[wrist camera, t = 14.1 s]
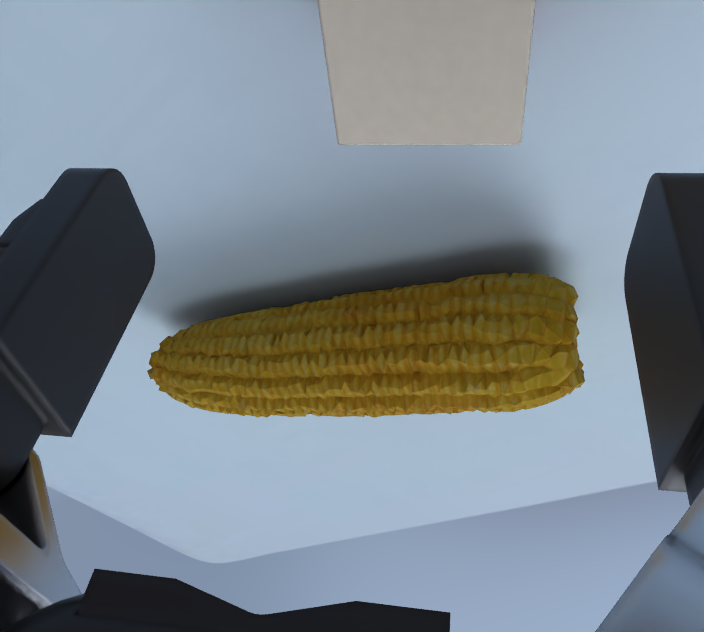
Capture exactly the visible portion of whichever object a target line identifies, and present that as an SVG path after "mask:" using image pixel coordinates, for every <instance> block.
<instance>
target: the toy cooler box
mask: <svg viewBox="0 0 704 632" xmlns="http://www.w3.org/2000/svg"><path fill="white" fill-rule="evenodd" d="M318 7H319V15H320V22H321V29H322V36H323V43H324V50H325V57H326V64H327V71H328V78H329V85H330V92H331V99H332V107H333V114H334V121H335V128H336V135H337V142H338V144H340V145H519V144H520V143H521V139H522V129H523V119H524V109H525V99H526V89H527V79H528V70H529V60H530V50H531V40H532V30H533V20H534V10H535V0H318Z"/></svg>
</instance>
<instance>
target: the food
mask: <svg viewBox="0 0 704 632" xmlns="http://www.w3.org/2000/svg"><path fill="white" fill-rule="evenodd" d="M577 298H578V295H577V292H576V290H575V288H574V287H573V286H571V285H569V284H566V283H564V282H563V281H561V280H559V279H557V278H555V277H549V276H548V275H542V274H527V273H514V272H513V274H512V275H509V274H507V273H505V272H504V273H500V274H486V275H474V276H469V277H463V278H458V279H456V280H455V281H451V282H438V283H428V284H423V285H412V286H405V287H403V288H400V287H395V288H393V289H387V290H375V291H371V292H358V293H353V294H344V295H342V296H340V297H338V296H334V297H333V299H331V300H324V299H322V300H319V301H313V302H312V303H309V302H307V301H305V302H303V303H301V304H294V305H293V306H289V307H282V308H278V307H270V308H269V309H261V310H259V311H258V310H257V311H254V312H246V313H240V314H235V315H233V316H230V317H228V316H226V317H222V318H218V319H213V320H209V321H205V322H201V323H198V324H194V325H192V326H191V327H190V328H187V329H185V330H180V331H179V332H178V333H177V334H175V335H174V336H173V337H171V336H168V337H167V338H165V339H164V340H163V341H162V342H161V343H160V344H159V345H160V349H159V350H158V351H155V352H153V353H151V358H150V361H149V364H150V365H151V366H152V367H153V368H152V369H150V370H148V371H147V372H148V374H149V376H150V379H154V380H155V382H156V384H157V385H159V386H160V388H159V390H160V391H163V392H166V393H167V394H168V395H170V396H171V397H172V398H174V399H175V400H178V401H180V402H182V403H185V404H187V405H188V406H190V407H192V408H195V407H196V408H199V409H203V410H208V411H213V412H220V413H227V414H229V413H230V414H239V415H242V416H245V415H251V416H256V417H260V416H264V417H268V416H270V415H280V416H288V417H294V416H306V415H307V414H313V415H316V416H336V417H343V416H362V417H364V416H365V415H367V416H371V417H378V416H383V415H404V414H406V415H409V414H414V413H415V414H435V413H448V414H451V413H459V412H463V411H475V410H479V411H482V412H484V413H485V412H487V411H491V412H495V413H497V412H501V411H503V412H515V411H518V410H521V409H530V408H534V407H538V406H541V405H544V404H547V403H550V402H552V401H555V400H557V399H559V398H561V397H563V396H565V395H566V394H567V393H569V394H570V393H571V392H572V391H573V390H574V389H575V388H578V387H580V386H581V385H582V384H583V383H584V381H585V380H584V371H583V370H582V369H581V368H582V367H583V364H582V362H581V361H580V360H579V354H578V351H577V340H576V337H577V336H578V334H579V330H578V328H577V325H576V323H577V320H578V318H577V315H576V312H575V309H574V304H575V302H576V300H577Z"/></svg>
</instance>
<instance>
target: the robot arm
mask: <svg viewBox="0 0 704 632" xmlns="http://www.w3.org/2000/svg"><path fill="white" fill-rule="evenodd" d="M154 266H155V250H154V245H153V241H152V239H151V236H150V234H149V232H148V229H147V227H146V225H145V222H144V220H143V218H142V216H141V213H140V211H139V209H138V206H137V204H136V202H135V199H134V197H133V195H132V192H131V190H130V188H129V186H128V183H127V181H126V179H125V177H124V176H123V174H122V173H121V172H120V171H118V170H117V169H111V168H70V169H67V170H66V171H64V172H63V173H62V174H61V176H60V177H59V178H58V180H57V181H56V182H55V184H54V185H53V186H52V188H51V189H50V191H49V192H48V193H47V195H46V196H45V197H44V199H40V200H39V201H38V202H36V203H35V204H34V205H32V206H31V207H30V208H28V209H27V210H26V211H24V212H23V213H22V214H20V215H19V216H18V217H16V218H15V219H14V220H13V221H12V222H11V224H10V225H9V226H8V228H7V229H6V230H5V232H4V233H3V234H2V235H1V237H0V632H450V613H449V612H441V611H432V610H424V609H415V608H408V607H400V606H392V605H384V604H376V603H367V602H360V601H354V602H347V603H340V604H333V605H327V606H321V607H314V608H307V609H301V610H293V611H287V612H280V613H273V614H265V615H259V614H253V613H250V612H247V611H246V610H243V609H241V608H239V607H237V606H234V605H232V604H230V603H228V602H226V601H224V600H221V599H219V598H217V597H215V596H212V595H210V594H208V593H206V592H204V591H201V590H199V589H197V588H195V587H193V586H191V585H188V584H186V583H184V582H182V581H180V580H177V579H173V578H166V577H157V576H149V575H141V574H133V573H125V572H116V571H109V570H101V569H94V572H93V574H92V577H91V579H90V581H89V584H88V587H87V589H86V591H85V594H82V593H81V591H80V589H79V587H78V585H77V583H76V582H75V580H74V578H73V577H72V575H71V574H70V572H69V570H68V568H67V566H66V564H65V562H64V559H63V556H62V553H61V549H60V544H59V540H58V536H57V531H56V527H55V522H54V518H53V514H52V509H51V505H50V501H49V496H48V492H47V488H46V483H45V479H44V475H43V470H42V466H41V462H40V459H39V456H38V455H37V454H36V452H35V451H34V450H33V447H34V445H35V443H36V441H37V439H38V438H39V436H40V434H42V435H54V436H65V437H72V435H73V433H74V431H75V429H76V427H77V425H78V423H79V421H80V419H81V417H82V415H83V413H84V411H85V409H86V407H87V405H88V403H89V401H90V399H91V397H92V395H93V393H94V391H95V389H96V387H97V385H98V383H99V381H100V379H101V377H102V375H103V373H104V371H105V369H106V367H107V365H108V363H109V361H110V359H111V357H112V355H113V353H114V351H115V349H116V347H117V345H118V343H119V341H120V339H121V337H122V335H123V333H124V331H125V329H126V327H127V325H128V323H129V321H130V319H131V317H132V315H133V313H134V311H135V309H136V307H137V305H138V303H139V301H140V299H141V297H142V295H143V293H144V291H145V289H146V287H147V285H148V283H149V281H150V279H151V277H152V275H153V271H154ZM624 290H625V299H626V305H627V310H628V316H629V322H630V328H631V334H632V339H633V345H634V351H635V357H636V362H637V368H638V374H639V380H640V386H641V391H642V397H643V403H644V409H645V414H646V420H647V426H648V432H649V438H650V443H651V449H652V455H653V461H654V467H655V472H656V478H657V483H658V489H659V490H667V491H678V492H687V494H688V499H689V504H690V507H689V509H688V510H687V511H686V513H685V514H684V515H683V517H682V518H681V520H680V521H679V522H678V524H677V525H676V526H675V528H674V529H673V530H672V532H671V533H670V534H669V535H667V536H666V537H665V538H664V539H663V541H662V542H661V543H660V544H659V546H658V547H657V548H656V550H655V551H654V552H653V554H652V555H651V556H650V558H649V559H648V560H647V562H646V563H645V565H644V566H643V567H642V569H641V570H640V571H639V573H638V574H637V576H636V577H635V578H634V579H633V581H632V582H631V584H630V585H629V586H628V588H627V589H626V590H625V592H624V593H623V594H622V596H621V597H620V599H619V600H618V601H617V603H616V604H615V605H614V607H613V608H612V609H611V611H610V612H609V614H608V615H607V616H606V618H605V619H604V621H603V622H602V623H601V625H600V626H599V628H598V629H597V630H596V631H595V632H704V173H655V174H653V175H652V176H651V178H650V180H649V183H648V185H647V188H646V192H645V195H644V199H643V202H642V206H641V209H640V213H639V216H638V220H637V223H636V227H635V230H634V234H633V237H632V241H631V244H630V248H629V251H628V255H627V260H626V266H625V277H624Z"/></svg>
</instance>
